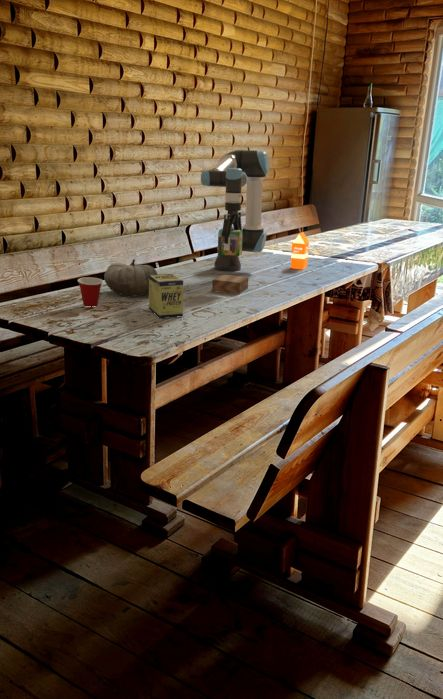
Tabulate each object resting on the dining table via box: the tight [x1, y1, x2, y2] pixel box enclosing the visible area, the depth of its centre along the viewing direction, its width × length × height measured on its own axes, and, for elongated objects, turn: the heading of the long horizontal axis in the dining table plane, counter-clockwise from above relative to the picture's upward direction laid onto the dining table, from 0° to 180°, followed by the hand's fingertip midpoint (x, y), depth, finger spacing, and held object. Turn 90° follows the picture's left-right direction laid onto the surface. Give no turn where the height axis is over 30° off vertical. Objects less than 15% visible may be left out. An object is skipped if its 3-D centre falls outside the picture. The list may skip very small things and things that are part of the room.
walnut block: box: [211, 274, 249, 295], centre depth 333 cm, size 14×14×6 cm
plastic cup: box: [77, 276, 104, 307], centre depth 294 cm, size 11×11×12 cm
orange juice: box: [290, 231, 310, 270], centre depth 390 cm, size 8×9×20 cm
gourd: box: [103, 258, 158, 297], centre depth 318 cm, size 25×25×17 cm
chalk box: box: [221, 226, 243, 257], centre depth 326 cm, size 9×9×15 cm
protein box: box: [148, 273, 184, 319], centre depth 286 cm, size 10×16×16 cm
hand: (231, 248), depth 328 cm, fingers closed on chalk box, 10 cm apart
